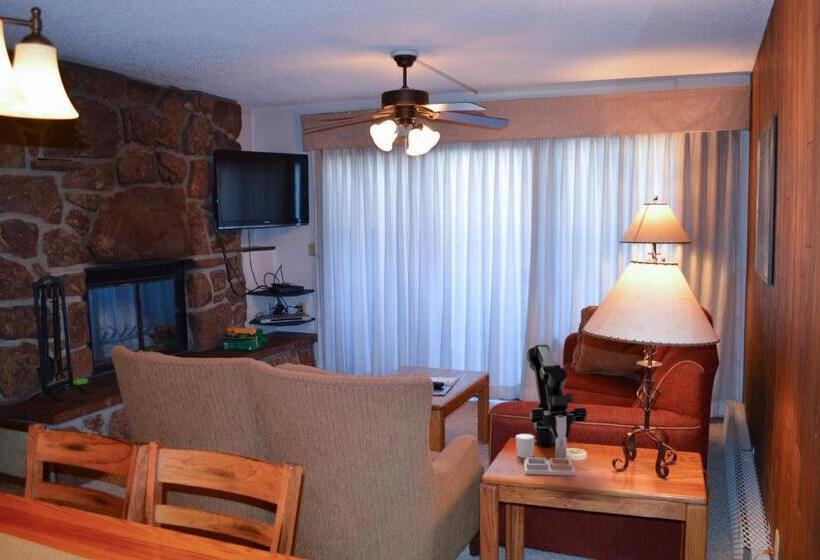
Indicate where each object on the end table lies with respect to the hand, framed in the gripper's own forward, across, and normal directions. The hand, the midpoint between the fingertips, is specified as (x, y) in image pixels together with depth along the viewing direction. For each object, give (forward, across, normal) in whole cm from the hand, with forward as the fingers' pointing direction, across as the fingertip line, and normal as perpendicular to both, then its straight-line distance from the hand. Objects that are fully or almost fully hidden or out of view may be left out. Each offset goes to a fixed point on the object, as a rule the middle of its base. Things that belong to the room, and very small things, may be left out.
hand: (561, 437), depth 246 cm
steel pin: (+4, 0, +6) cm, 7 cm away
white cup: (-3, -10, +20) cm, 22 cm away
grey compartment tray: (+7, -4, +9) cm, 12 cm away
